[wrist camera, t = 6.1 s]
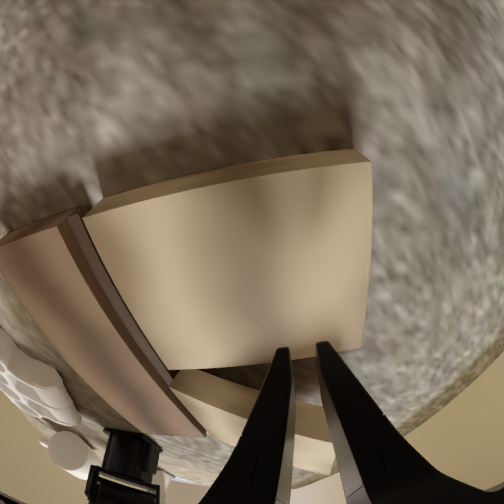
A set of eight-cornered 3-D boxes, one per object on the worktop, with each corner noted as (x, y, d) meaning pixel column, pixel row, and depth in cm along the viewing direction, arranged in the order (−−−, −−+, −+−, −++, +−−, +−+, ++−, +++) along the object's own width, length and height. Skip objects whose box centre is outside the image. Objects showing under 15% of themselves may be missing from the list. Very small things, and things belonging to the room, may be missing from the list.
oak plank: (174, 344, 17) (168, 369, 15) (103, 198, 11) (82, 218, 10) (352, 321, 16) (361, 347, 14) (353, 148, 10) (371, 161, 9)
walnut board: (146, 416, 24) (142, 432, 22) (7, 233, 12) (-11, 250, 11) (215, 419, 23) (214, 437, 22) (90, 202, 12) (68, 222, 10)
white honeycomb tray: (88, 419, 29) (9, 380, 26) (57, 350, 19) (-38, 297, 17) (82, 439, 26) (1, 397, 24) (43, 379, 17) (-53, 317, 14)
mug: (92, 439, 34) (82, 477, 28) (104, 453, 40) (97, 485, 33) (37, 416, 33) (25, 449, 26) (55, 433, 38) (46, 463, 32)
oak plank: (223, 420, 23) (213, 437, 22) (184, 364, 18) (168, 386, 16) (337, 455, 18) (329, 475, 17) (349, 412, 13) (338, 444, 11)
